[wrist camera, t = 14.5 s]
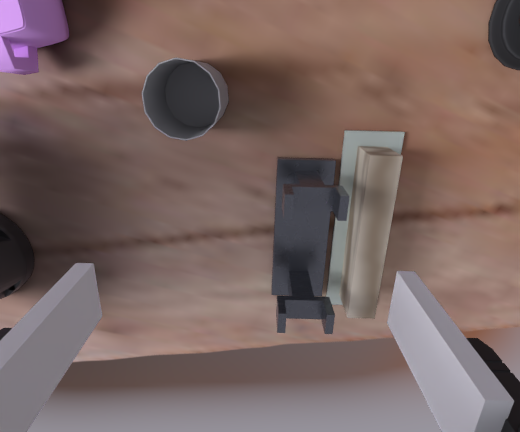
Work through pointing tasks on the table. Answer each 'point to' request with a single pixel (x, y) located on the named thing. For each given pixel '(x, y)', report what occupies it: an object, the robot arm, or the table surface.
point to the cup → (184, 98)
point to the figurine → (506, 32)
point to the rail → (368, 228)
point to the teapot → (29, 32)
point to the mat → (346, 180)
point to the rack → (304, 237)
